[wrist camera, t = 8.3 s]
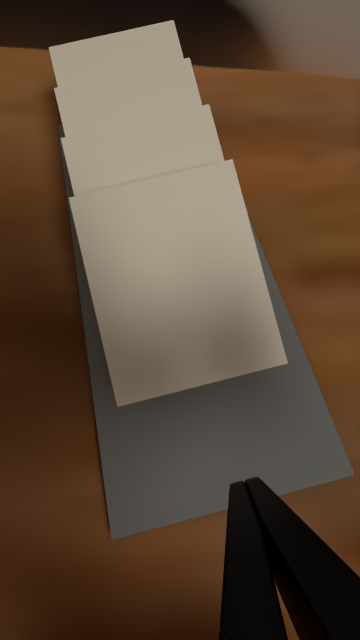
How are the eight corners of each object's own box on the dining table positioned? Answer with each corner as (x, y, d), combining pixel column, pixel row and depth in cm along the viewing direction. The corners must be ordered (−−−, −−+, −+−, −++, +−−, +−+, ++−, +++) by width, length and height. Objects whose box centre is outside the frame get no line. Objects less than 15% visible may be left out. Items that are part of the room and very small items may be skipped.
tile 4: (212, 169, 23) (173, 20, 24) (84, 199, 23) (48, 47, 23) (210, 180, 25) (173, 40, 25) (90, 208, 24) (56, 66, 25)
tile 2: (258, 286, 19) (209, 104, 20) (104, 323, 19) (60, 138, 20) (251, 290, 21) (206, 121, 22) (109, 325, 20) (69, 153, 21)
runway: (350, 474, 17) (354, 475, 16) (114, 537, 17) (111, 540, 16) (198, 100, 29) (197, 93, 29) (60, 131, 29) (57, 125, 28)
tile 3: (233, 221, 21) (189, 57, 22) (93, 255, 21) (53, 88, 22) (229, 229, 23) (188, 76, 23) (99, 261, 22) (62, 105, 23)
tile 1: (287, 363, 17) (232, 159, 18) (117, 407, 17) (68, 197, 18) (278, 361, 19) (228, 173, 20) (122, 401, 19) (77, 209, 19)
